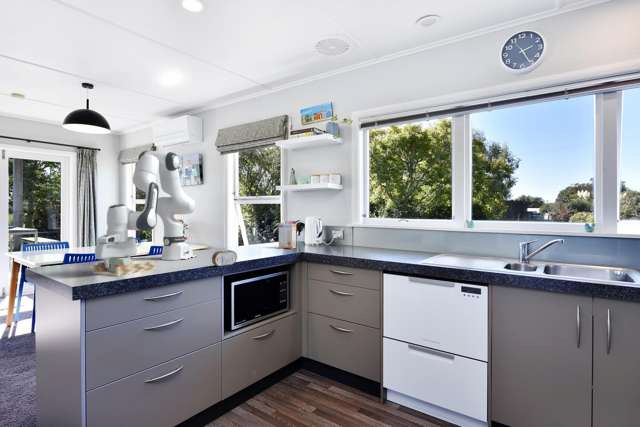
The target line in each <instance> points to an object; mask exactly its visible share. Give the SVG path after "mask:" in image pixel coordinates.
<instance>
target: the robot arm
mask: <svg viewBox="0 0 640 427" xmlns="http://www.w3.org/2000/svg"><path fill="white" fill-rule="evenodd" d="M137 159H138V160H137V164H136V166H135V169H134V171H133V176H132V184H134V186H135V187H136V188H137V189H138V190H140V191H142V192H144V193H145V201H144V207H143V208H144V209H143V210H142V211H141V210H140V211H134V210H132V209H131V208H129V207H127V205H126V204H125V203H123V204H121V203H120V204H113V205H110V206H109V207H108V209H107V211H106V212H107V213H106V225H107V228H106V233H105V234H103V235H101V236H99V237H97V238H96V239H95V240H96V241H95V242H96V244H95V250H94V257H95V258H96V259H97V260H102V261H103V262H104V263H105V267H106V268H110V267H111V264H109V262H108V261H109V258H114V257H119V258H123V257H124V258H131V256H135V255H137V253H138V248H137V240H136V238H135V237H134V236H129V234H128V232H129V231H141V232H146V233H148V232H151V231H153V229H154V228H155V227H156V226H157V222H158V216H159V217H160V219H161V221H162V224H163V238H162V242H163V245H162V251H161V252H162V253H161V257H160V259H161V260H164V261H181V259H185V260H189V259H192V258H191V257H193V258H196V257H195V256H197V255H196V254H193V251H194V250H193V247H191V246H190V245H189V244H188V243H187V242H186V240H187V241H188V239H189V238H188V236H184V224H183V223H182V221H180V220H178V219H176V218H175V216H174V215H189V214H193V213H194V211H195V210H196V202H195V200H194V199H193V198H191V197H190V196H188V195H187V194H186V192H185V191H184V190H183V187H182V184H181V179H180V172H179V167H180V164H181V163H180V162H181V161H180V157H179V156H178V154H176V153H175V152H172V151H163V150H162V151H161V150H143V151H141V152H140V153H139V155H138V157H137ZM158 175H159V182H160V188H161V190H162V191H163V192H164V193H166V194H168V195H169V196H160V197H159V195H160V194H159V193H160V188H159V185H158V184H157V179H158ZM157 215H158V216H157ZM197 257H198V256H197ZM188 258H189V259H188Z"/></svg>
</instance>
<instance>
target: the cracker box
mask: <svg viewBox="0 0 640 427" xmlns="http://www.w3.org/2000/svg"><path fill="white" fill-rule="evenodd" d="M280 248H296V249H297V223H287V222H286V223H284V222H283V223H281V222H279V223H278V249H280Z"/></svg>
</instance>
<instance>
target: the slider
mask: <svg viewBox="0 0 640 427" xmlns="http://www.w3.org/2000/svg"><path fill="white" fill-rule="evenodd" d="M131 260H132V259H131V257H130V258H125V257H114V258H109V261H108V262H109V264H111V267H110V268H107V271H115V264H120V263H122V264H124V266H126V265H131Z"/></svg>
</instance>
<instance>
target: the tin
mask: <svg viewBox="0 0 640 427" xmlns="http://www.w3.org/2000/svg"><path fill="white" fill-rule="evenodd" d="M237 258H238V256H237V252H235V251H234V250H231V249H227V250H217V251H215V252H214V253H213V254H212V256H211V262H212V264H213V265H214V266H215V267H224V266H225V267H226V266H232V265H235V263H236V262H237Z"/></svg>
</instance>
